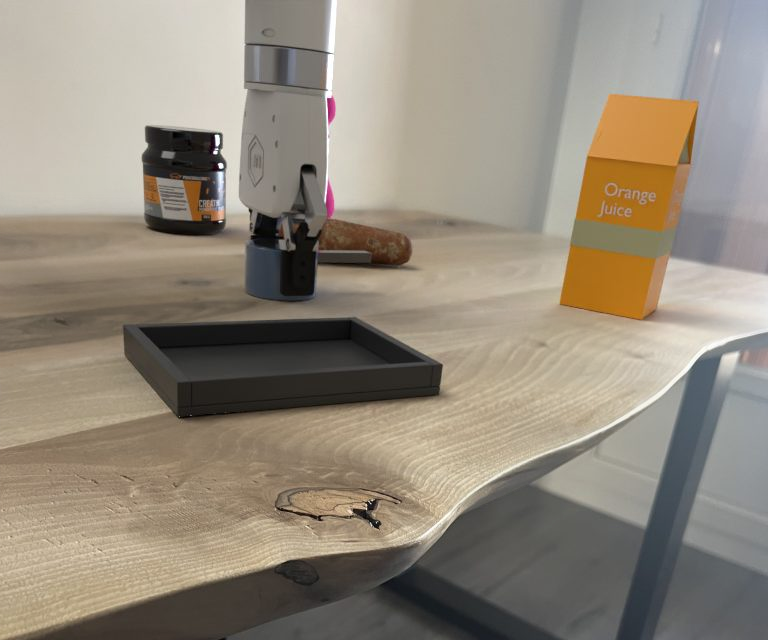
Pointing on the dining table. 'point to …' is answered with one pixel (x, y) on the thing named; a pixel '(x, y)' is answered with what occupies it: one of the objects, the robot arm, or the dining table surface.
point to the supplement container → (184, 180)
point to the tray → (275, 364)
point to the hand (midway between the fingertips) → (280, 284)
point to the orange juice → (629, 205)
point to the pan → (267, 264)
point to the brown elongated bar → (363, 241)
